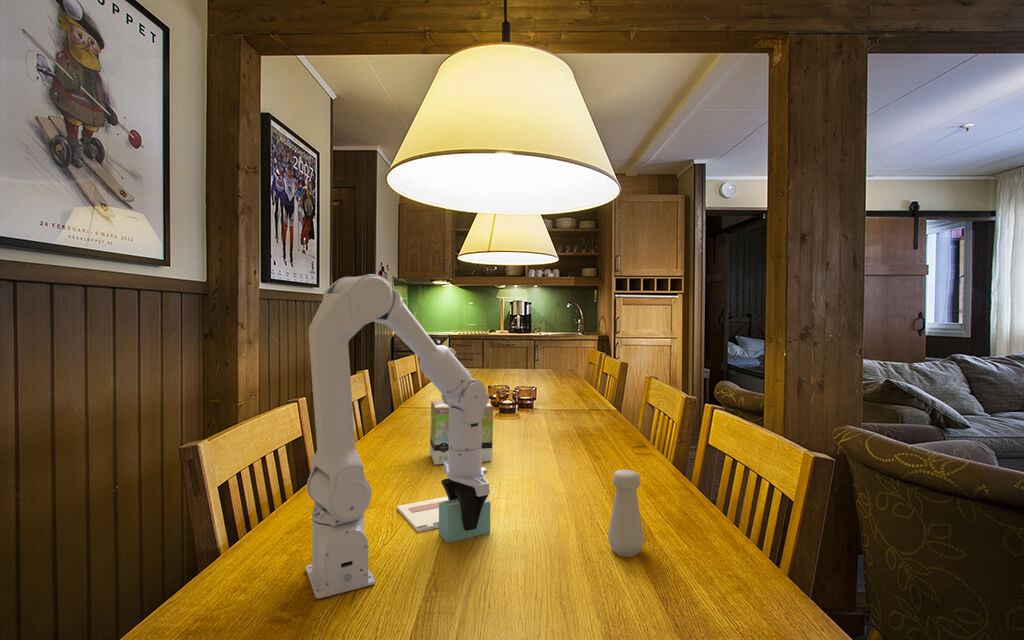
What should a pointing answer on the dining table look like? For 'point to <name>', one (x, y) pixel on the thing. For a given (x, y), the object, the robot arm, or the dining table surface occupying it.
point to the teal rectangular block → (460, 521)
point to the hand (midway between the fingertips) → (464, 524)
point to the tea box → (441, 433)
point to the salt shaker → (626, 515)
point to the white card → (422, 514)
